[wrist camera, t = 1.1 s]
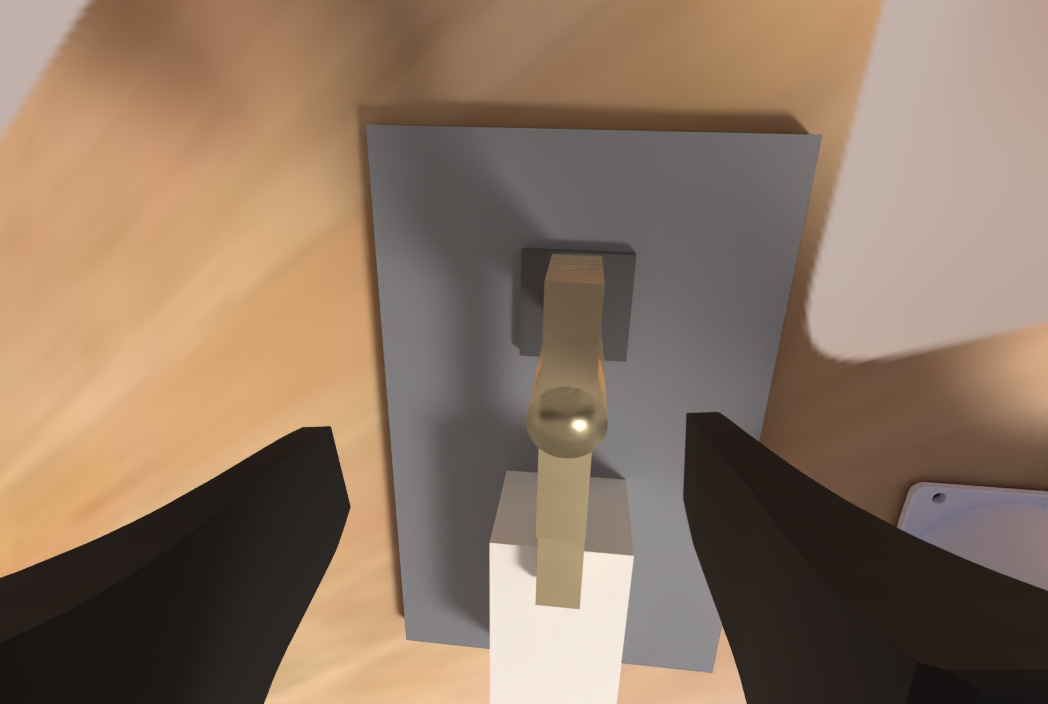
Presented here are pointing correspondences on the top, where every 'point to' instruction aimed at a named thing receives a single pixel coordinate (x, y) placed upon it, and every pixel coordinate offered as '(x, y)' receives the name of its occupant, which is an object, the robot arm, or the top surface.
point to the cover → (553, 632)
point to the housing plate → (627, 332)
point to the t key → (567, 421)
